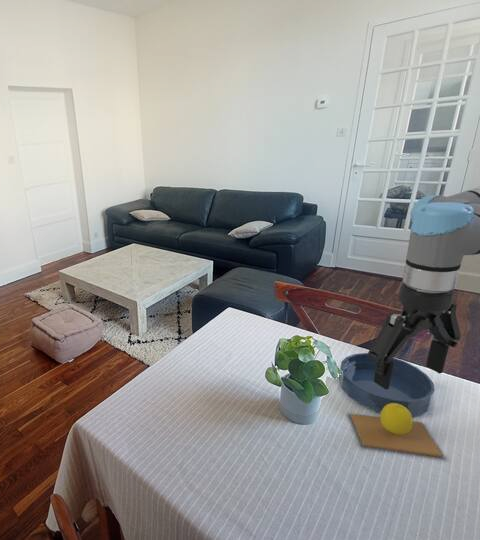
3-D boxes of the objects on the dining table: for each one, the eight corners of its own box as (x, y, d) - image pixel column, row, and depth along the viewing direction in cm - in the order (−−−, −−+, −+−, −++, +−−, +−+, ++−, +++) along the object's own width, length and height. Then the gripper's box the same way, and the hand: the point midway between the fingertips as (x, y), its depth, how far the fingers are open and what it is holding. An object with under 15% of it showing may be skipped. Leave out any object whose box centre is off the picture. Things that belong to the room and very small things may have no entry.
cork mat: (420, 424, 78) (421, 422, 78) (441, 457, 70) (442, 455, 70) (350, 415, 83) (351, 413, 83) (363, 446, 75) (363, 443, 75)
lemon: (380, 419, 80) (386, 392, 77) (410, 431, 76) (417, 403, 73) (375, 434, 77) (380, 406, 74) (406, 447, 73) (413, 418, 70)
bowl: (408, 371, 95) (412, 356, 93) (447, 423, 78) (452, 406, 76) (330, 364, 101) (332, 350, 99) (350, 411, 84) (353, 395, 82)
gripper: (456, 267, 69) (436, 353, 77) (354, 291, 65) (342, 380, 73) (503, 279, 63) (475, 373, 70) (391, 307, 58) (374, 404, 66)
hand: (407, 377), depth 71 cm, fingers open, 13 cm apart
